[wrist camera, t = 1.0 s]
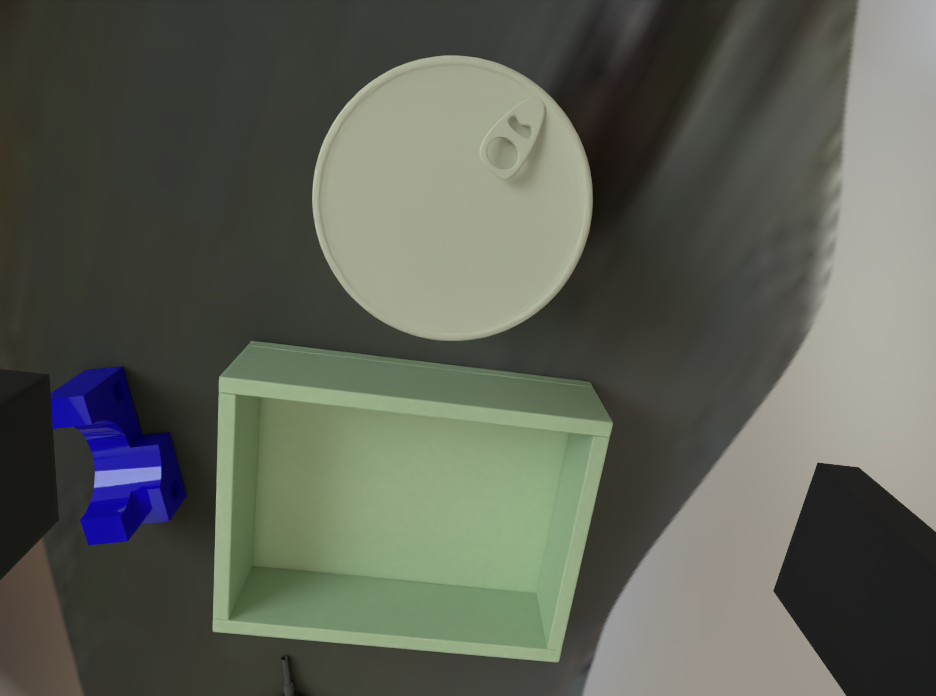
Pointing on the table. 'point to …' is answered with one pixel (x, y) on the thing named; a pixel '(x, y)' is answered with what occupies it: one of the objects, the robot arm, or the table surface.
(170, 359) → the table surface
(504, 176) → the can
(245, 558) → the bin
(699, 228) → the table surface
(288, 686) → the gaming mouse
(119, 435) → the cable holder
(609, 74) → the table surface
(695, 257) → the table surface
